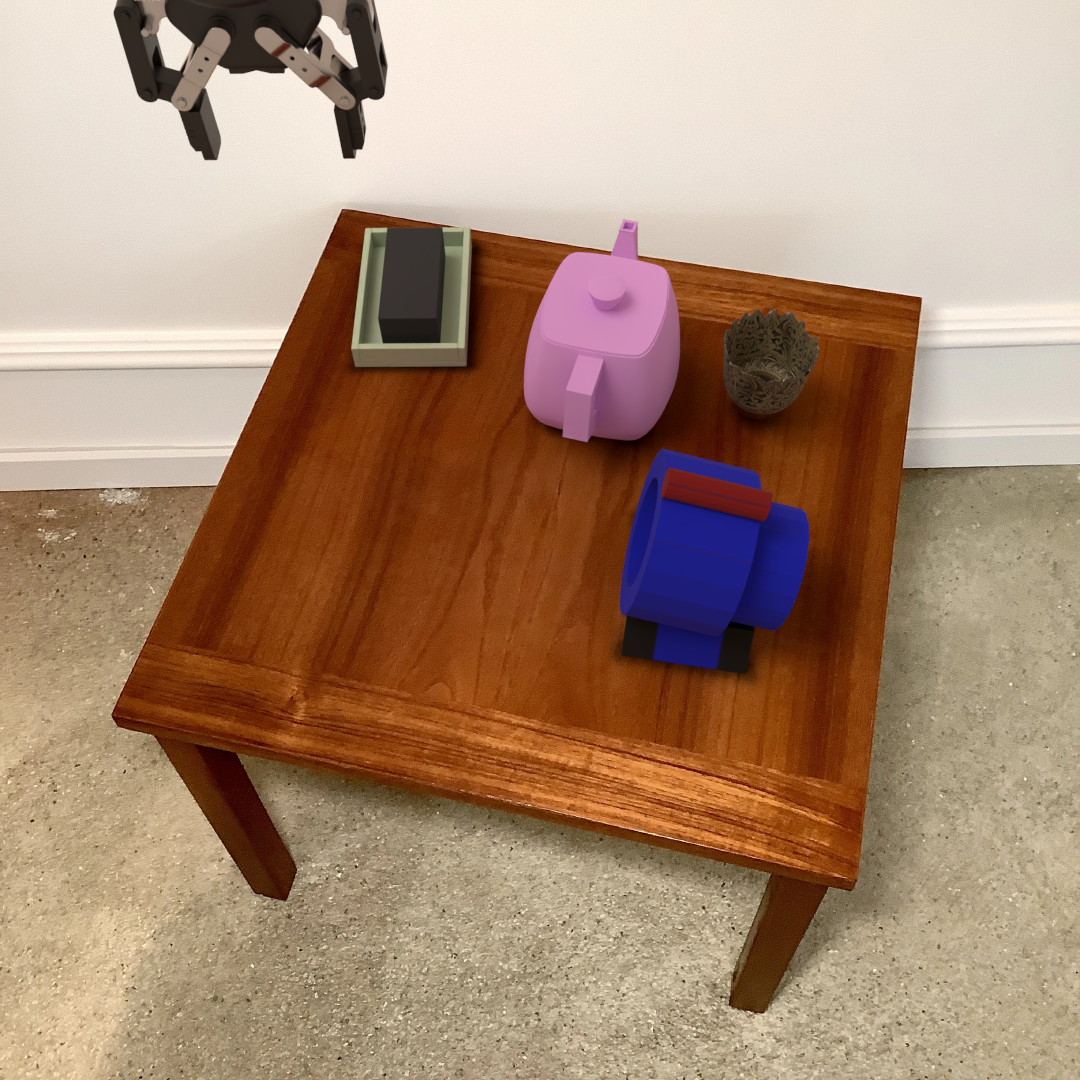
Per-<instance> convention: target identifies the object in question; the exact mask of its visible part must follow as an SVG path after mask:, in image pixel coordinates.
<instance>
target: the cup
mask: <svg viewBox="0 0 1080 1080" xmlns="http://www.w3.org/2000/svg"><path fill="white" fill-rule="evenodd" d="M820 351H821V348H820V347H819V338H818V336H817V335H815V336H812V337H811V336H810V334H809V333H807V332H806V322H805V321H804V320H800V321H798V319H797V316H796V314H795V313H794V312H792V311H791V312H789V311H788V312H785V313H783V314H781V315H778V312H777V310H776V308H772V309H771V310H770V311H768V313H767V315H766V316H765V315H764V313H762V311H760V310H759V309H755V310H754V311H753V313H749V312H748V311H745V313H743V314H742V316H741V317H740V319H739V322H738V319H737V318H734V319H733V321H732V322H731V325H730V329H726V330H724V335H723V361H722V370H723V371H722V374H723V376H722V377H723V383H724V387H725V391H726V392H727V395H728V396H729V398H730V399H731V401H732V402H733V403H734V404H735V405H736V409H737V410H738V411H739V413H740V414H741V415H742V416H744V417H745V418H747V419H750V420H753V421H763V420H767V419H769V418H770V417H772V416H774V415H775V413H776V414H777V413H778V412H781V411H783V410H786V408H788V407H789V406H790V405H792V403H793V402H794V401H796V399H797V398H798V396H799V395H800V393H801V392H802V390H803V389H804V387H805V385H806V383H807V381H808V379H809V377H810V376H811V373H812V371H813V368H814V367H815V365H816V363H817V361H818V359H819V356H820V353H821V352H820Z"/></svg>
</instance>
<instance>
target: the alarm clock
mask: <svg viewBox="0 0 1080 1080" xmlns="http://www.w3.org/2000/svg"><path fill="white" fill-rule="evenodd" d="M760 477H761V476H760V475H759V474H758V473H757V472H756V471H755V470H752V469H748V468H743V467H740V466H736V465H732V464H727V463H723V462H719V461H715V460H711V459H707V458H702V457H698V456H694V455H690V454H686V453H682V452H678V451H675V450H670V449H665V448H662V449H660V450H659V451H658V452H657V454H656V456H655V458H654V459H653V461H652V463H651V466H650V468H649V471H648V473H647V475H646V478H645V481H644V483H643V486H642V489H641V492H640V496H639V498H638V502H637V505H636V510H635V513H634V517H633V519H632V520H633V521H632V524H631V528H630V533H629V538H628V542H627V546H626V551H625V557H624V562H623V568H622V575H621V581H620V589H619V609H620V613H621V615H622V616H626V617H625V622H624V623H625V625H624V631H623V638H622V645H621V653H620V655H621V656H624V657H631V658H638V659H645V660H652V661H657V662H658V661H659V662H665V663H672V664H677V665H684V666H690V667H696V668H703V669H710V670H717V671H722V672H729V673H737V674H743V675H746V673H747V669H748V665H749V660H750V656H751V651H752V646H753V641H754V638H755V637H754V636H755V632H756V629H755V628H758V629H762V630H766V631H771V632H776V631H777V630H778V629H780V628H781V627H782V626H783V625H784V623H785V622H786V620H787V618H788V617H789V616H790V613H791V612H792V610H793V607H794V605H795V602H796V600H797V598H798V594H799V591H800V588H801V585H802V583H803V582H802V581H803V578H804V575H805V570H806V565H807V561H808V560H807V559H808V554H809V553H808V552H809V544H810V523H809V519H808V515H807V512H805V510H803V508H800V507H795V506H791V505H787V504H783V503H779V502H774V501H773V492H772V491H769V490H765V489H763V487H762V483H761V478H760Z"/></svg>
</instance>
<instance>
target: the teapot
mask: <svg viewBox="0 0 1080 1080" xmlns="http://www.w3.org/2000/svg"><path fill="white" fill-rule="evenodd" d="M638 233H639V221H636V220H630V219H626V218H623V219H622V220H621V224H620V226H619V229H618V233H617V237H616V238H615V242H614V244H613V248H612V250H611V253H610V255H609V254H603V253H597V252H586V251H585V252H584V251H575V252H573V253H570V254H568V255H567V256H566V257H565V258H564V259H563V260H562V261H561V263H560V264H559V266H558V268H557V269H556V271H555V273H554V275H553V278H552V279H551V280H550V282H549V284H548V287H547V289H546V291H545V294H544V295H543V298H542V300H541V302H540V304H539V307H538V309H537V312H536V314H535V316H534V319H533V322H532V326H531V329H530V331H529V336H528V341H527V347H526V352H525V360H524V371H523V395H524V396H523V397H524V400H525V401H524V402H525V405H526V407H527V409H528V411H529V412H530V413H531V414H532V416H533V417H534V418H535V419H536V420H537V421H538V422H540V423H542V424H544V425H546V426H550V427H552V428H556V429H559V430H562V438H567V439H570V440H575V441H580V442H583V443H584V442H585V443H588V442H589V440H590V439H591V437H597V438H604V439H610V440H611V439H612V440H619V441H635V440H638V439H641V438H642V437H644V436H645V435H647V434H648V433H649V432H650V431H651V430H652V429H653V428H654V427H655V425H656V424H657V422H658V421H659V419H660V418H661V416H662V414H663V412H664V411H665V409H666V407H667V404H668V403H669V400H670V398H671V396H672V394H673V391H674V388H675V385H676V382H677V378H678V374H679V369H680V367H679V366H680V360H681V359H680V357H681V327H680V326H681V325H680V315H679V308H678V302H677V297H676V295H675V291H674V287H673V285H672V281H671V278H670V275H669V273H668V271H667V269H666V268H664V267H662V266H660V265H659V264H655V263H652V262H646V261H642V260H639V236H638V235H639V234H638Z"/></svg>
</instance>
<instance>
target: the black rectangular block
mask: <svg viewBox="0 0 1080 1080" xmlns="http://www.w3.org/2000/svg"><path fill="white" fill-rule="evenodd" d="M386 228H387V234H386V244H385V254H384V264H383V274H382V284H381V293H380V303H379V313H378V321H379V326H380V332H381V337H382V342H383V344H395V343H440V340H441V323H442V307H443V290H444V274H445V257H446V255H445V246H444V237H443V229H442V228H439V227H386Z"/></svg>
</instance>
